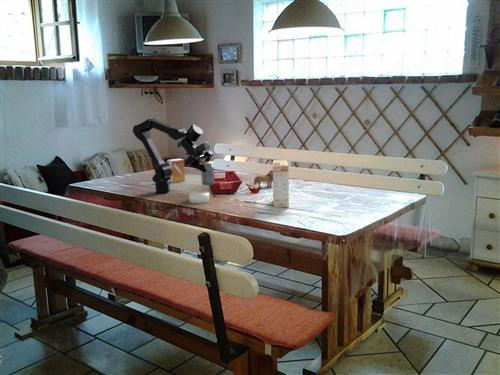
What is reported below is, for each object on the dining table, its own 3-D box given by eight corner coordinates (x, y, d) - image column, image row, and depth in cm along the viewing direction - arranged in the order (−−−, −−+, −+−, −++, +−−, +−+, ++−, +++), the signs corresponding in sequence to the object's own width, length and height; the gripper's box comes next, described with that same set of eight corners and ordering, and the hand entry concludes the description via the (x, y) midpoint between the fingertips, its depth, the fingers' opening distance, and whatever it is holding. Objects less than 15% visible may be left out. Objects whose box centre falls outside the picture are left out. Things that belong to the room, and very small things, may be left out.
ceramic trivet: (187, 203, 236) (186, 195, 235) (191, 198, 246) (191, 191, 245) (207, 203, 235) (207, 195, 234) (211, 198, 245) (211, 191, 244)
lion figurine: (273, 184, 274) (273, 168, 273) (278, 186, 270) (278, 170, 268) (250, 187, 268) (249, 171, 266) (254, 189, 263) (254, 173, 261)
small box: (172, 183, 286) (171, 160, 283) (168, 181, 291) (166, 159, 288) (185, 181, 290) (184, 159, 288) (180, 179, 295) (179, 158, 293)
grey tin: (199, 184, 244) (198, 162, 242) (204, 182, 250) (203, 161, 247) (211, 185, 242) (210, 163, 240) (215, 182, 248) (215, 161, 245)
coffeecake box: (273, 200, 239) (272, 160, 235) (287, 199, 238) (287, 159, 234) (273, 207, 224) (272, 165, 220) (289, 207, 224) (288, 165, 220)
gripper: (188, 138, 235) (208, 163, 232) (209, 135, 251) (229, 157, 248) (175, 154, 240) (195, 178, 237) (197, 149, 256) (216, 172, 253)
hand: (209, 171), depth 244 cm, fingers closed on grey tin, 6 cm apart
